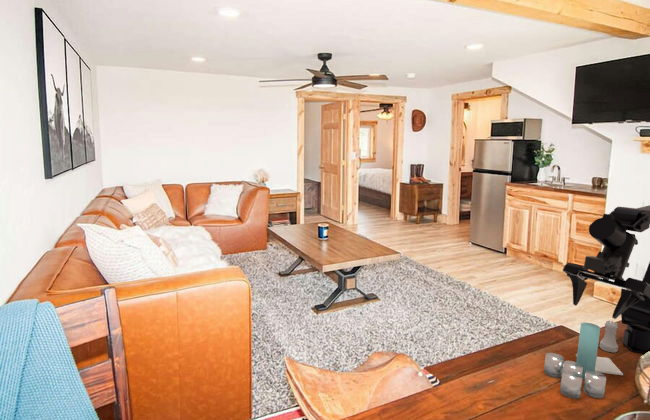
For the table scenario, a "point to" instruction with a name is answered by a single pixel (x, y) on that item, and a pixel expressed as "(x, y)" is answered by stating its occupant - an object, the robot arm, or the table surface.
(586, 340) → the teal post
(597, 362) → the grey mat
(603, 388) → the block
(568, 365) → the spacer
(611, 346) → the rook chess piece
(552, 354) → the spacer
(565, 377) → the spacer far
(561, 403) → the table surface
